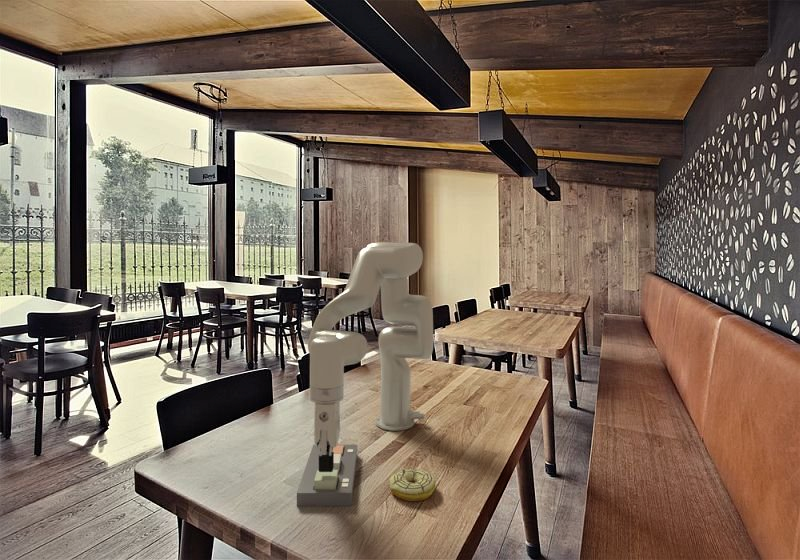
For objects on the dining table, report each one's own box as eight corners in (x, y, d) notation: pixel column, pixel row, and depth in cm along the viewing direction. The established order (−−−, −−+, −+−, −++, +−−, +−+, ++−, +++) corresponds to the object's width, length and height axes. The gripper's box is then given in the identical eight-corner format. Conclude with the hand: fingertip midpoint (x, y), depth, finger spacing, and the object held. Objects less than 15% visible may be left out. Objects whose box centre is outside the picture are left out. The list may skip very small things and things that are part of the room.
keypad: (357, 455, 124) (357, 443, 124) (351, 505, 100) (351, 491, 100) (313, 455, 123) (313, 443, 123) (296, 506, 100) (296, 492, 99)
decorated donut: (398, 477, 113) (398, 462, 113) (439, 484, 110) (440, 469, 110) (383, 498, 103) (383, 483, 103) (428, 508, 100) (428, 491, 100)
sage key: (337, 481, 106) (337, 469, 106) (335, 493, 101) (335, 480, 101) (317, 482, 106) (317, 469, 106) (314, 493, 101) (314, 480, 101)
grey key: (340, 465, 114) (341, 453, 114) (339, 475, 109) (339, 463, 109) (321, 465, 114) (321, 453, 114) (319, 475, 109) (319, 463, 109)
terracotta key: (343, 456, 122) (343, 445, 122) (342, 464, 117) (342, 453, 117) (325, 456, 122) (325, 445, 122) (323, 464, 117) (323, 453, 117)
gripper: (340, 403, 95) (339, 487, 96) (346, 382, 109) (345, 455, 111) (304, 403, 94) (304, 487, 96) (314, 381, 109) (314, 455, 111)
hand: (326, 470), depth 103 cm, fingers closed
